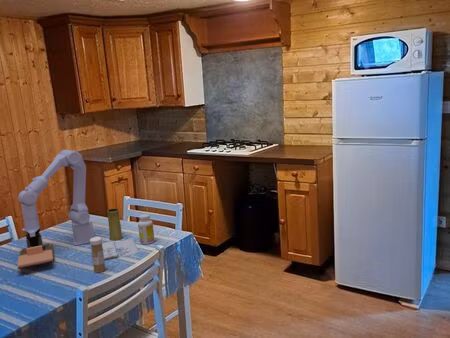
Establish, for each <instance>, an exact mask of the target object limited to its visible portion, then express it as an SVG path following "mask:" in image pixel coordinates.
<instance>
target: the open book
mask: <svg viewBox="0 0 450 338" xmlns="http://www.w3.org/2000/svg"><path fill="white" fill-rule="evenodd" d="M102 247H103V254H104V261H106V260H111V259H119V258H122V257H128V256H132V255H134V256H135V255H137V254H140V251H139V250H138V246H137V244H136V239H135V238H134V237H133V238H129V239H126V240H125V239H124V240H118V241H112V240H110V241H108V242H102ZM117 250H118V251H117ZM90 251H91V252H90V253H92V249H91V250H90ZM91 259H92V260H93V258H92V257H91Z"/></svg>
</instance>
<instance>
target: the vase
mask: <svg viewBox="0 0 450 338" xmlns="http://www.w3.org/2000/svg"><path fill="white" fill-rule="evenodd" d="M106 211H107V220H108V221H107V223H108V229H109V230H108V231H109V240H110V241H114V242H117V241H121V239H123V238H124V237H123V232H122V225H121V219H120V211H119V208H116V207H115V208H109V209H107V210H106Z"/></svg>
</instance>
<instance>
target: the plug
mask: <svg viewBox="0 0 450 338" xmlns="http://www.w3.org/2000/svg"><path fill="white" fill-rule="evenodd" d="M42 236H43V235H42V234H40V236H39V240H38V246H41V245H42V248H43V244H44V243H43V237H42ZM25 238H26V237H25ZM26 245H27V246H26V248H30V247H31V244H30V242H29V240H28V239H27V238H26ZM43 250H44V249H43Z"/></svg>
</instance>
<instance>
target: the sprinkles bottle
mask: <svg viewBox="0 0 450 338" xmlns="http://www.w3.org/2000/svg"><path fill="white" fill-rule="evenodd" d="M102 243H103V239H102V237H100V236H95V237H94V238H91V239H90V243H89V245H90V248H91V249H92V252H91V259H92V258H93V259H92V265H93V272H94V273H96V274H97V273H102V272H105V270H106V265H105V260H104V254H103V247H102Z"/></svg>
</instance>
